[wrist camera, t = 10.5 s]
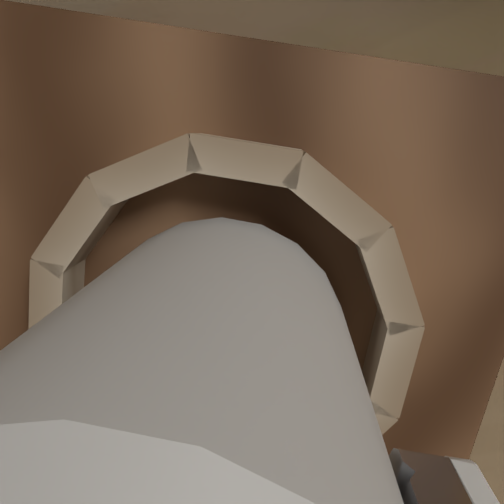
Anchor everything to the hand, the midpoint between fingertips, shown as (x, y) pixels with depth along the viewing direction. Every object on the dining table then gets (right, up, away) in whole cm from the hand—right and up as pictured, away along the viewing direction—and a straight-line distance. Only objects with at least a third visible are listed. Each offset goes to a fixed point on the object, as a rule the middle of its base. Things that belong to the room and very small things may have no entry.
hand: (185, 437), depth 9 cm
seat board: (+1, +2, +7) cm, 7 cm away
